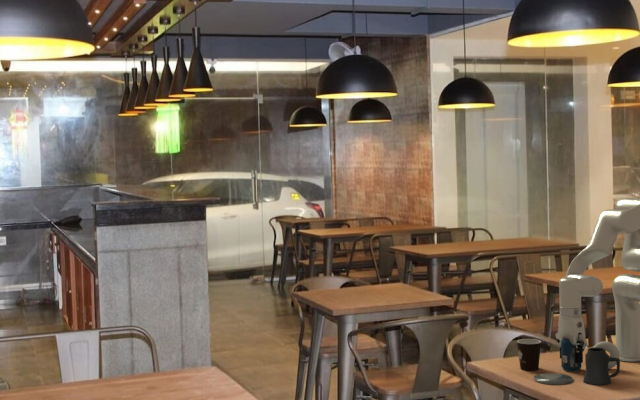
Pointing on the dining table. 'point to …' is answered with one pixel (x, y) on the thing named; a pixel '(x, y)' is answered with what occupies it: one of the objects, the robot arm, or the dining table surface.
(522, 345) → the coffee mug
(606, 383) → the mug
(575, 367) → the soda can
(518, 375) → the dining table surface
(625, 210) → the robot arm
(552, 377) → the slate coaster
